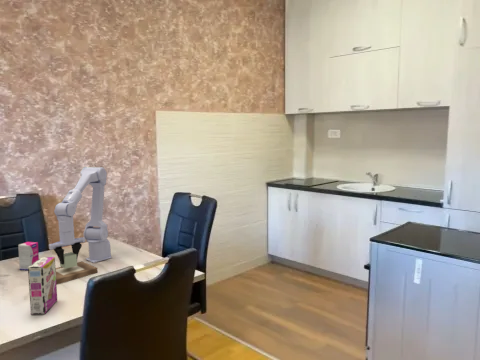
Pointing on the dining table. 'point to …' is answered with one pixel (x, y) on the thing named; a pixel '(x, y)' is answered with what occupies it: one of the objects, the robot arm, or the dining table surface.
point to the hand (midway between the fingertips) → (68, 262)
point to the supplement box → (28, 254)
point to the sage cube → (69, 260)
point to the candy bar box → (42, 285)
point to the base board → (74, 272)
